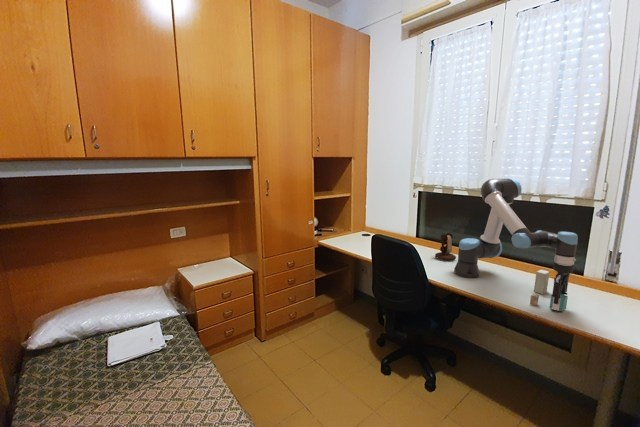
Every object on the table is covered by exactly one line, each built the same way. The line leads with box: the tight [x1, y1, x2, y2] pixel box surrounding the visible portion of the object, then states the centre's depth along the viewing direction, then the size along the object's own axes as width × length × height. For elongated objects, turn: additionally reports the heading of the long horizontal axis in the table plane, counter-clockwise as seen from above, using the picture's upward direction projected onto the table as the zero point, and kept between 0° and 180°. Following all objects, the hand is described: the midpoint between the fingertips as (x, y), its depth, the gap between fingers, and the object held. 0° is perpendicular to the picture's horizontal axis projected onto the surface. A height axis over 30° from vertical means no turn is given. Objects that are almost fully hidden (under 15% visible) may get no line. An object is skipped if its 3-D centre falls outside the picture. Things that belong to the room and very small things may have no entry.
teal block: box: [549, 294, 569, 312], centre depth 146 cm, size 5×5×7 cm
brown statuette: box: [434, 232, 457, 262], centre depth 223 cm, size 15×15×20 cm
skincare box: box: [533, 269, 550, 295], centre depth 166 cm, size 6×4×12 cm
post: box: [529, 293, 539, 307], centre depth 152 cm, size 3×3×5 cm
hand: (557, 307), depth 146 cm, fingers closed on teal block, 5 cm apart
